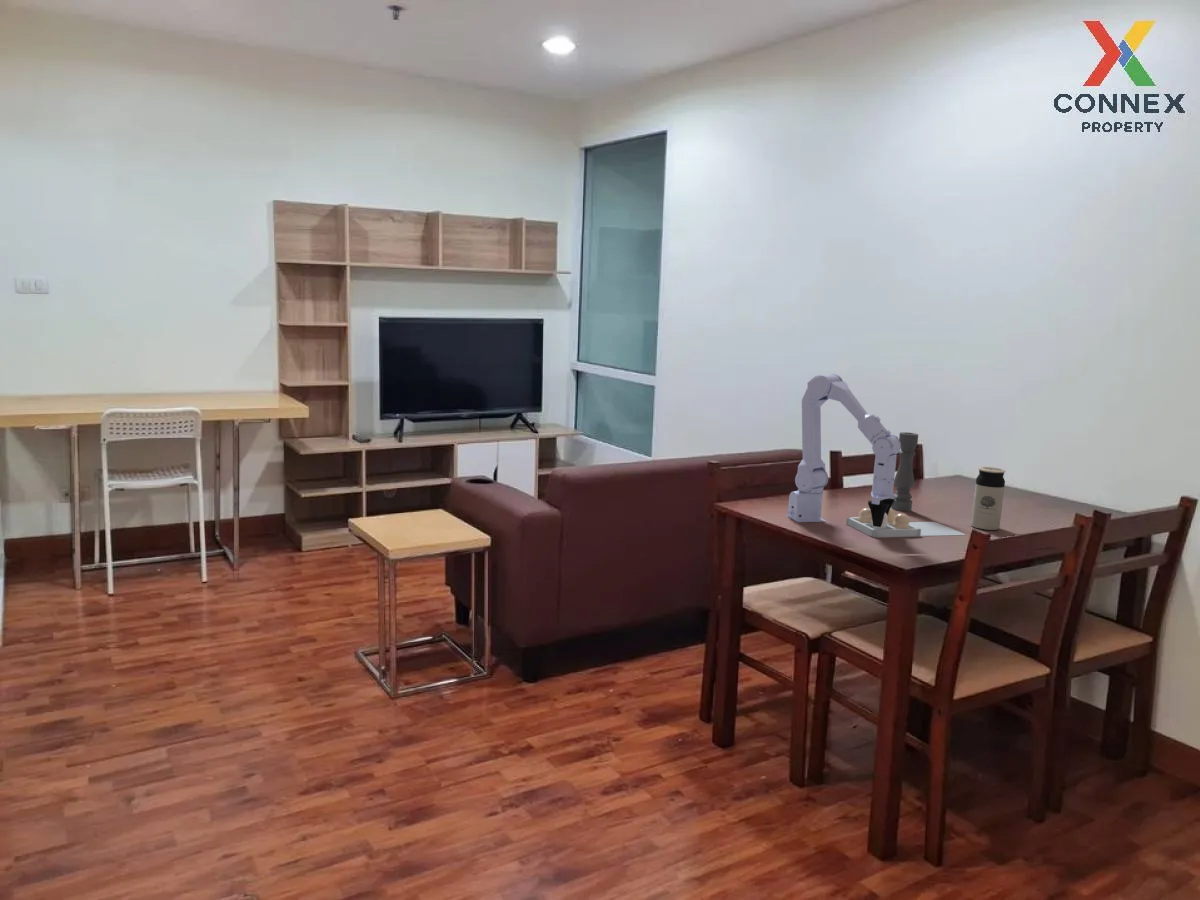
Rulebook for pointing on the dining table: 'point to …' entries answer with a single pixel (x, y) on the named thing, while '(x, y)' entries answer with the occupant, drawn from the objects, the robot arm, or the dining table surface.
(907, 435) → the candle holder
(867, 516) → the brown egg left
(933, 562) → the dining table surface
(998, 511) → the travel mug
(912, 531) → the egg carton
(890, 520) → the brown egg far
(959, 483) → the dining table surface
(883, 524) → the white egg
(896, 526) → the brown egg back
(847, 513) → the dining table surface
